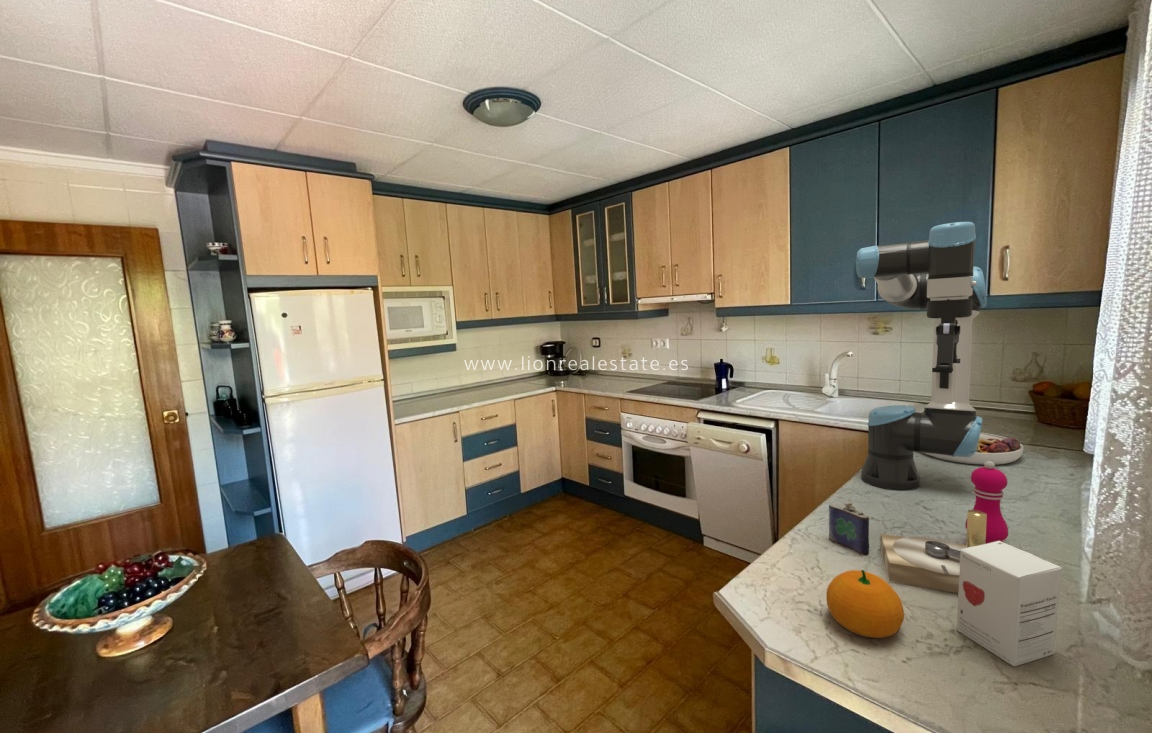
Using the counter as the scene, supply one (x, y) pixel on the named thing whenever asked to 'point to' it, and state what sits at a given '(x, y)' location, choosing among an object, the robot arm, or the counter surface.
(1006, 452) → the bowl
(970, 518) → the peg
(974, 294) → the robot arm
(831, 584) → the fruit
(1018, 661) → the supplement box
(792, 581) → the counter surface
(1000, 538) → the pepper mill
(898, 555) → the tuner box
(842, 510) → the flask
